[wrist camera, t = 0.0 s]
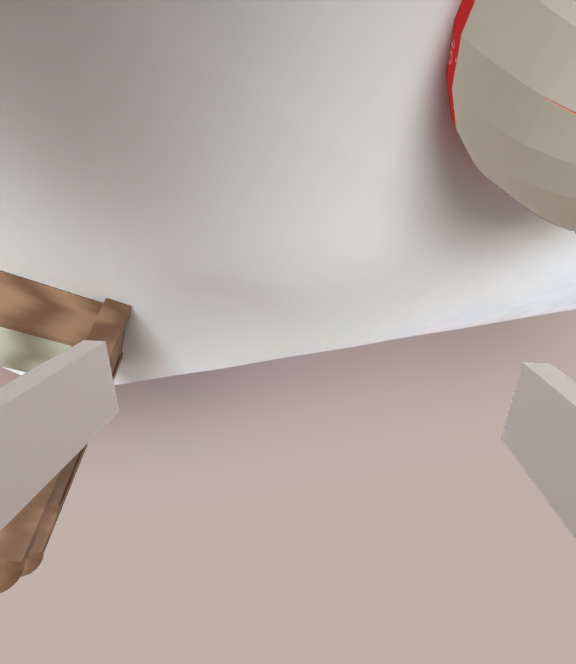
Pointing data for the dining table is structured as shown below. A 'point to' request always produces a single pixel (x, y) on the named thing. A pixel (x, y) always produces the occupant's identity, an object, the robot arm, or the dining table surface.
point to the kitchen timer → (519, 99)
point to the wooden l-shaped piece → (26, 354)
